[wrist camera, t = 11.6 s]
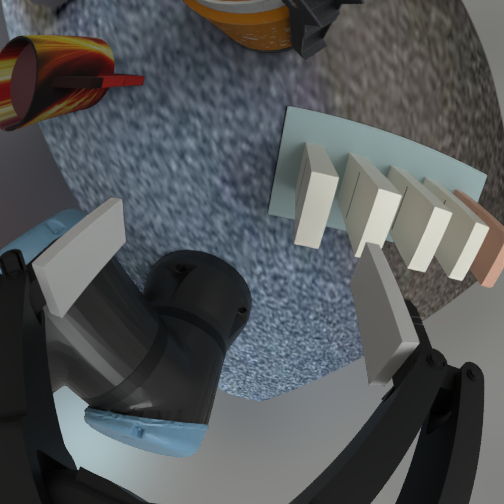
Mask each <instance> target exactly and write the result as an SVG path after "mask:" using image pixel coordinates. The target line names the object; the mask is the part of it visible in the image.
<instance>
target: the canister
mask: <svg viewBox="0 0 504 504" xmlns="http://www.w3.org/2000/svg"><path fill="white" fill-rule="evenodd" d="M183 1H184V2H185V3H186V4H187V5H188V6H189V7H190V8H191V9H193V10H194V11H195V12H197V13H198V14H200V15H201V16H203V17H204V18H205V19H207V20H208V21H209V22H211V23H212V24H214V25H215V26H216V27H218V28H219V29H220V30H222V31H223V32H224V33H225V34H227V35H228V36H229V37H231V38H232V39H233V40H234V41H236V42H237V43H238V44H240V45H241V46H243V47H245V48H247V49H250V50H253V51H256V52H262V53H277V52H283V51H287V50H290V49H292V48H293V49H294V50H295V51H297V52H298V53H299V54H300V55H301V56H302V57H303V58H304V59H305V60H306V59H308V58H309V57H311V56H312V55H314V54H315V53H317V52H318V51H320V50H322V49H323V48H325V47H326V46H327V44H326V42H325V40H324V37H325V35H326V33H327V31H328V30H329V28H330V26H331V24H332V22H334V21H335V20H336V19H337V17H338V15H339V13H340V12H341V11H340V8H341V6H342V4H364V3H365V2H364V1H363V0H183Z"/></svg>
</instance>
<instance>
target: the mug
mask: <svg viewBox="0 0 504 504" xmlns="http://www.w3.org/2000/svg"><path fill="white" fill-rule="evenodd" d="M144 78H145V77H144V76H138V75H128V74H114V57H113V53H112V50H111V48H110V47H109V45H108V44H107V43H106V42H104V41H103V40H101V39H98V38H91V37H79V36H60V35H30V36H18V37H16V38H14V39H12V40H11V41H10V42H9V43H7V44H6V46H5V47H4V48H3V49H2V51H1V52H0V128H1V129H2V130H4V131H13V130H16V129H19V128H22V127H24V126H27V125H30V124H33V123H36V122H39V121H43V120H46V119H49V118H53V117H56V116H60V115H63V114H67V113H71V112H75V111H79V110H83V109H87V108H90V107H92V106H93V105H95V104H96V103H98V102H99V101H100V100H101V99H102V97H103V96H104V95H105V94H106V92H107V90H108V88H109V87H116V86H131V85H143V81H144Z"/></svg>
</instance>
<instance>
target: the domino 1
mask: <svg viewBox="0 0 504 504" xmlns="http://www.w3.org/2000/svg"><path fill="white" fill-rule="evenodd" d="M338 180H339V176H338V174H337V172H336V170H335V168H334V166H333V164H332V162H331V160H330V158H329V156H328V154H327V152H326V150H325V148H324V146H322V145H317V144H313V143H309V142H306V143H305V148H304V152H303V157H302V162H301V166H300V171H299V176H298V180H297V185H296V189H295V227H294V244H297V245H302V246H307V247H312V248H317V249H319V246H320V243H321V239H322V236H323V233H324V229H325V226H326V223H327V219H328V216H329V213H330V209H331V206H332V202H333V199H334V195H335V191H336V188H337V184H338Z"/></svg>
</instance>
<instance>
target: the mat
mask: <svg viewBox="0 0 504 504" xmlns="http://www.w3.org/2000/svg"><path fill="white" fill-rule="evenodd" d="M306 142H309V143H313V144H317V145H322V146H324V148H325V150H326V152H327V154H328V156H329V158H330V160H331V162H332V164H333V166H334V168H335V170H336V172H337V174H338V176H339V180H338V184H337V188H336V191H335V195H334V199H333V202H332V206H331V209H330V213H329V216H328V219H327V223H326V227H331V228H335V229H340V230H344V231H347V229H346V226H345V223H344V220H343V217H342V214H341V211H340V208H339V205H338V202H337V198H338V195H339V191H340V188H341V184H342V180H343V177H344V173H345V169H346V165H347V161H348V158H349V154H350V153H353V154H356V155H360V156H363V157H366V158H367V159H368V160H369V161H370V162H371V163H372V164H373V165H374V166H375V167H376V168H377V169H378V170H379V171H380V172H381V173H382V174H383V175H384V176H385V177H386V178H387V176H388V173H389V169H390V166H391V165H392V166H395V167H398V168H401V169H404V170H406V171H407V172H408V173H410V174H411V175H412V176H413V177H414V178H416V179H417V180H418V181H419V182H420V183H421V184H422V185H423V183H424V180H425V177H427V178H429V179H432V180H435V181H437V182H439V183H440V184H441V185H443V186H444V187H445V188H446V189H447V190H449V191H450V192H451V193H452V194H454V191H455V189H457V190H459V191H461V192H464V193H466V194H467V195H468V196H470V197H471V198H472V199H473V200H474V201H476V202H478V199H479V197H480V194H481V191H482V189H483V186H484V183H485V180H486V177H487V175H486V174H484V173H482V172H480V171H478V170H476V169H474V168H472V167H470V166H468V165H466V164H464V163H462V162H460V161H458V160H456V159H454V158H452V157H450V156H447V155H445V154H443V153H441V152H438V151H436V150H434V149H431V148H429V147H426V146H424V145H422V144H419V143H416V142H414V141H411V140H409V139H406V138H403V137H401V136H398V135H395V134H392V133H389V132H386V131H383V130H380V129H377V128H374V127H371V126H368V125H364V124H361V123H358V122H354V121H351V120H347V119H343V118H340V117H336V116H332V115H328V114H324V113H320V112H315V111H311V110H306V109H302V108H297V107H292V106H288V108H287V113H286V119H285V124H284V130H283V135H282V141H281V146H280V152H279V157H278V162H277V168H276V173H275V178H274V184H273V189H272V194H271V200H270V205H269V210H268V214H270V215H275V216H279V217H284V218H289V219H294V220H295V189H296V185H297V180H298V176H299V171H300V166H301V162H302V157H303V152H304V148H305V143H306ZM385 240H386V241H390V242H394V241H393V239H392V237H391V235H390V234H389V232H388V234H387V237H386V239H385Z"/></svg>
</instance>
